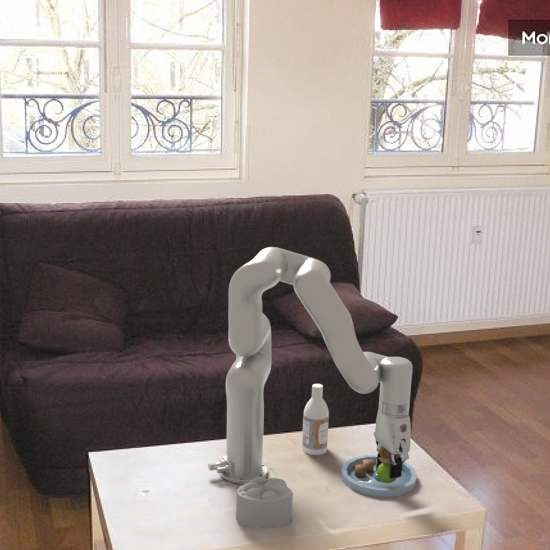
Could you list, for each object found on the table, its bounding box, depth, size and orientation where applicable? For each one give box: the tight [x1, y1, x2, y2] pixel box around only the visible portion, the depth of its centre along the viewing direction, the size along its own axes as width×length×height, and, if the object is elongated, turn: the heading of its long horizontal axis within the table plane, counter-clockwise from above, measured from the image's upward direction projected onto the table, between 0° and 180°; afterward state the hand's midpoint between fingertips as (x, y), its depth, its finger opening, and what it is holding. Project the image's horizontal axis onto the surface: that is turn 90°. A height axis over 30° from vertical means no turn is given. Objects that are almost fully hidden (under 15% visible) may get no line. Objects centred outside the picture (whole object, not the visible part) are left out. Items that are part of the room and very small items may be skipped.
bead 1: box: [355, 464, 367, 478], centre depth 231 cm, size 3×3×2 cm
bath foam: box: [301, 383, 330, 456], centre depth 243 cm, size 7×7×20 cm
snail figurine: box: [377, 446, 399, 483], centre depth 224 cm, size 5×6×12 cm
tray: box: [340, 454, 418, 498], centre depth 230 cm, size 19×19×3 cm
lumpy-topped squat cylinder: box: [235, 476, 294, 529], centre depth 211 cm, size 10×13×9 cm
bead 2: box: [363, 459, 374, 473], centre depth 234 cm, size 3×3×2 cm
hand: (388, 471), depth 225 cm, fingers closed on snail figurine, 5 cm apart
